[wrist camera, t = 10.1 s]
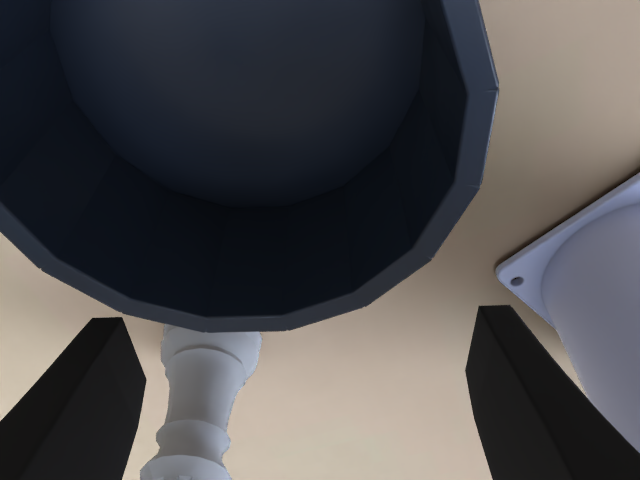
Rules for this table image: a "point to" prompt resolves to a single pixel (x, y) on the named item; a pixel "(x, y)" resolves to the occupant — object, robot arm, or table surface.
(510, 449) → the robot arm
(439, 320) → the table surface
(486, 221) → the table surface
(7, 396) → the table surface
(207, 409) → the rook chess piece
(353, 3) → the pot
